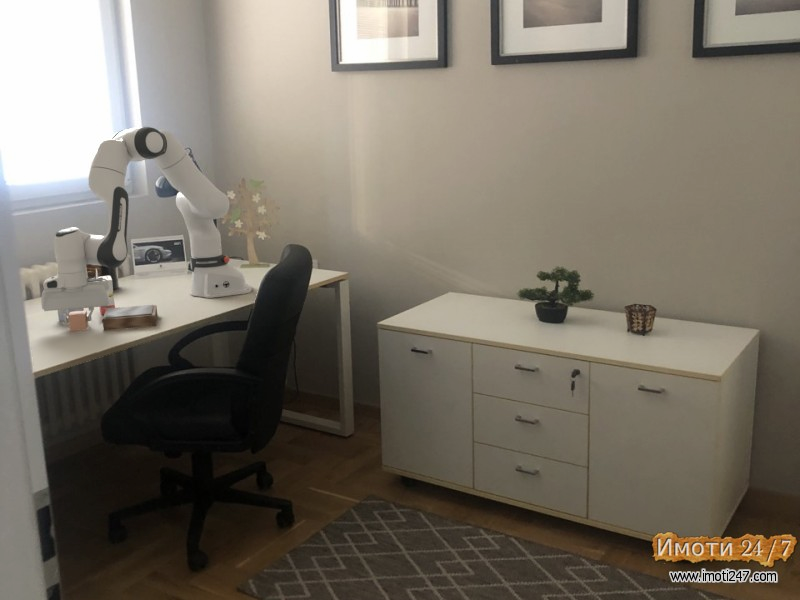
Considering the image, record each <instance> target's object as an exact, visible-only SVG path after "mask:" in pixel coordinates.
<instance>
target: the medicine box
mask: <svg viewBox="0 0 800 600" xmlns="http://www.w3.org/2000/svg"><path fill="white" fill-rule="evenodd" d="M84 309H85V308H78V309H66V310H65V314H66V315H67V316H68V315H69V313H70V312H75V311H85V310H84ZM57 317H58V322H65V318H64V317H63V316H62V315H61V314H60V310H57Z"/></svg>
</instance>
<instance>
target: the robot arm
mask: <svg viewBox="0 0 800 600" xmlns="http://www.w3.org/2000/svg"><path fill="white" fill-rule="evenodd" d="M147 160H153V161H154V163H155V164H156V165H157V167H158V169H159V170H160V172H161V173H162V174H163V175H164V177H165V178H166V180H167V182H168V183H169V185H170V186H171V187H172V188H174V189H175V190H176V191H178V192H177V194H176V197H175V206H176V207H177V209H178V210H179V211H180V213H181V215H182V217H183V219H184V223H185V226H186V229H187V231H188V236H189V243H190V244H189V245H190V252H191V253H190V254H191V256H190V259H189V260H190V270H191V272H192V273H191V274H192V275H191V286H190V287H191V288H190V291H189V292H190V293H189V294H190V295H191V296H194V297H202V298H205V299H214V298H219V297H220V298H221V297H229V296H236V295H244V294H249V293H251V292H252V290H253V289H252V285H250V284H249V283H246V279H245V276H244V274H243V272H242V271H240V270H238V269H237V268H236V267H234V266H233V265H231V264H229V262H230V257H229V256H228V255H227V254H224V253H223V250H222V238H221V233H220V230H219V229H218V228H217V226H216V224H215V222H214V220H217V219H221V218H223V217H225V216H226V215H227V214H228V212H229V211H230V210H229V209H230V200H229V198H228V195H226V194H225V193H224V192H223V191H221V190H220V189H219V188H217V186H215V185H214V183H212V182H211V181H210V179H208V178H207V177H206V175H204V173H202V171H201V170H200V169H199V168H198V166H197V165H196V163H194V161H193V159H192V158H191V156H190V155H189V154H188V152H187V151H186V149H185V148H184V146H183V145H182V144H181V143H180V141H179V140H178V139H177V138H176V137H175V136H174V135H173V134H172V133H171V131H169V130H166V129H159V130H158V129H156V128H154V127H151V126H142V127H140V126H139V127H130V128H129V129H125V130H119V131H118V132H115V133H114V134H113V135H112V136H111V137H110V138H105V139H103V140H101V141H100V142H99V144H98V145H97V148H96V150H95V153H94V155H93V158H92V161H91V164H90V168H89V169H90V170H89V175H88V186H89V190H90V191H91V192H92V193H93V195H95V196H96V197H97V198H99V200H102V201H103V202H104V203H106V204H107V207H108V211H109V212H108V222H107V223H108V224H107V232H106V234H105V235H99V234H92V233H87V232H85V231H82V230H81V229H80V228H78V227H73V226H71V227H66V228H63V229H60V230H58V231H57V232H55V234H54V237H53V248H54V257H55V261H56V264H57V268H56V272H57V273H56V275H54V276H53V275H52V276H50V277H49V278H47V279H45V280H44V281H43V284H42V286H43V291H42V292H41V308H42V310H43V311H44V312H49V311H50V312H51V311H52V312H53V311H58V310H60V314H61V315H62V316H63V317H64V318H65V321H64V323H65V324H69V319H68V316H67V315H66V314H65V310H66V309H78V308H83V309H87V308H88V311H89V313H88V314H87V315H86V321H88V322H92V321H93V320H92V314H93V313H94V310H95V308H99V307H102V306H107V305H108V304H109V302H110V300H109V294H108V291H107V290H108V288H109V285H108V281H107V280H106V279H103V278H88V275H87V267H86V265H87V264H92V265H101V266H105V267H110V268H116V267H117V268H118V267H120V266H121V265H122V264H123V263H124V262H125V261H126V259H127V257H128V253H129V252H128V242H127V241H128V240H127V236H128V220H129V209H130V208H129V203H130V202H129V198H130V197H129V194H128V191H127V190H126V187H125V186H126V185H125V184H126V183H125V181H126V175H127V170H128V167H129V166H128V165H129V164H130V162H142V161H147ZM103 280H105V281H103ZM88 281H89V283H88Z"/></svg>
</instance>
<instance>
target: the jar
mask: <svg viewBox="0 0 800 600" xmlns="http://www.w3.org/2000/svg"><path fill="white" fill-rule="evenodd" d="M86 267H87V275H88V278H96V269H97V272H98V277H101V276H111V278H112V284H113V291H116V290H118V289H119V286H120V284H119V276H118V267H116V268H110V267H105V266H101V265H92V264H87V265H86ZM88 283H89V281H88Z"/></svg>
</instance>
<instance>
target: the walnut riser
mask: <svg viewBox="0 0 800 600" xmlns="http://www.w3.org/2000/svg"><path fill="white" fill-rule="evenodd" d="M101 321H102V329H103V331H104V332H105V331H116V330H126V328H128V329H137V328H139V329H140V328H148V327H149V328H150V327H156V326H157V321H158V306H157V304H146V305H135V306H121V307H115V308H109V309H106V312H105V314H103V316H102V320H101Z"/></svg>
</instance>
